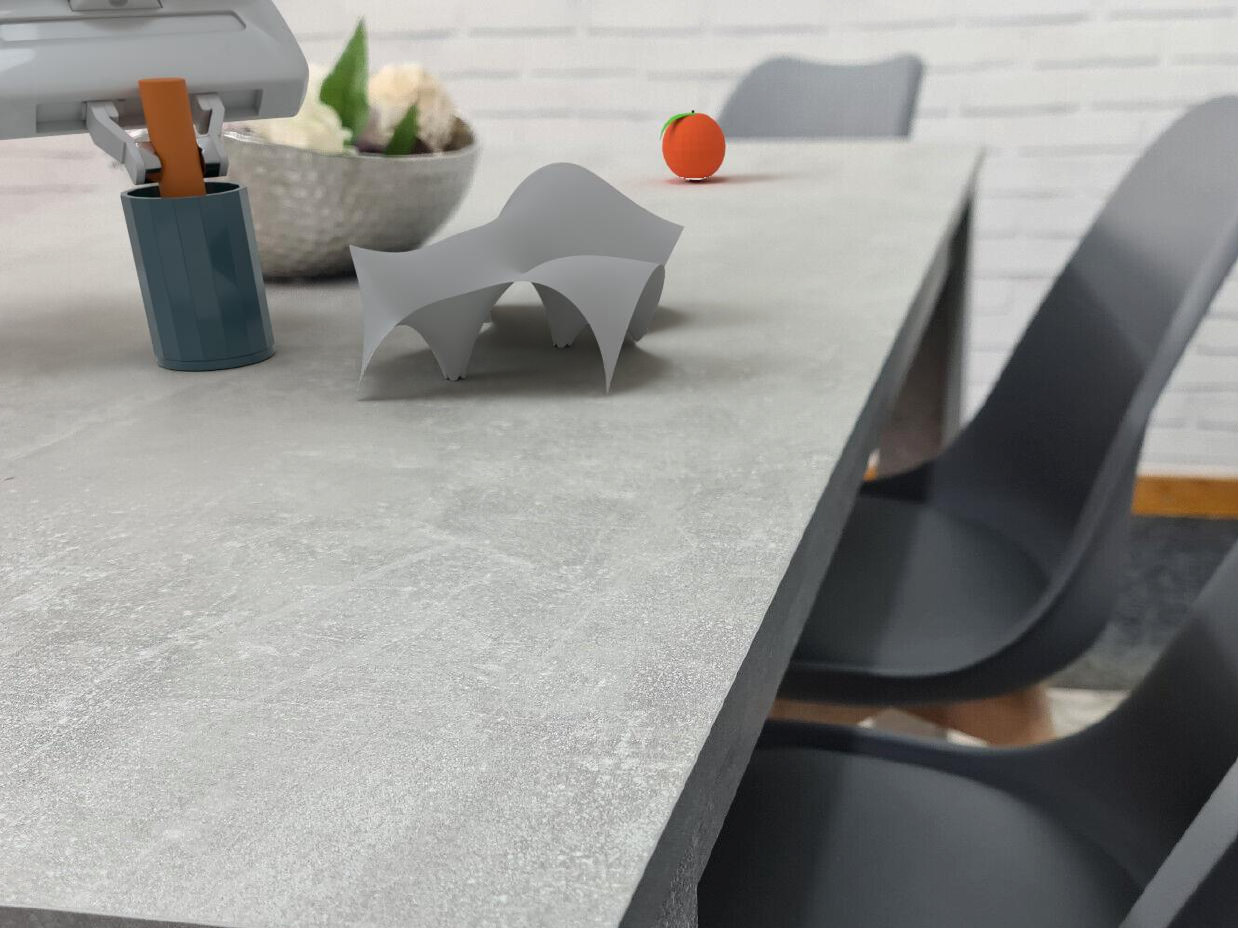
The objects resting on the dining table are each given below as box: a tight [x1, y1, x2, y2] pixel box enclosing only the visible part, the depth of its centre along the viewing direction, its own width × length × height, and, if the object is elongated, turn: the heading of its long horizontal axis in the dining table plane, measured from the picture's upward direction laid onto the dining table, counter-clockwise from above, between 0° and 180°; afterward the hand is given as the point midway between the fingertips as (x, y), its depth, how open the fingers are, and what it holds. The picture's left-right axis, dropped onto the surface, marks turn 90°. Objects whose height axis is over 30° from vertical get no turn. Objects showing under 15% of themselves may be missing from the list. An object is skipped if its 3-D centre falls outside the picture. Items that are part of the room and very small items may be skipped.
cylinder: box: [138, 78, 206, 198], centre depth 86 cm, size 3×3×11 cm
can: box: [119, 180, 276, 372], centre depth 89 cm, size 7×7×10 cm
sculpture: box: [348, 161, 685, 396], centre depth 90 cm, size 25×19×10 cm
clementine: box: [659, 109, 727, 178], centre depth 155 cm, size 8×7×7 cm
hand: (183, 174), depth 86 cm, fingers closed on cylinder, 3 cm apart
